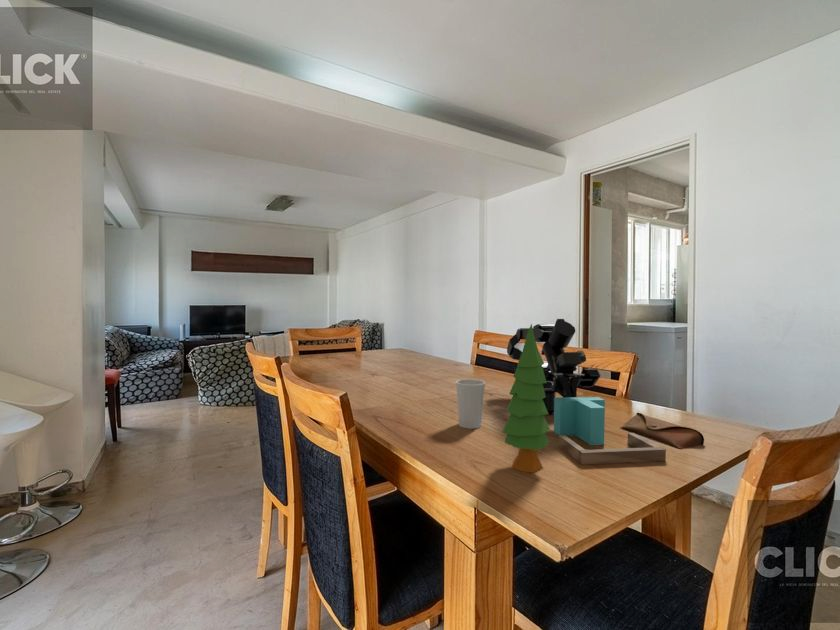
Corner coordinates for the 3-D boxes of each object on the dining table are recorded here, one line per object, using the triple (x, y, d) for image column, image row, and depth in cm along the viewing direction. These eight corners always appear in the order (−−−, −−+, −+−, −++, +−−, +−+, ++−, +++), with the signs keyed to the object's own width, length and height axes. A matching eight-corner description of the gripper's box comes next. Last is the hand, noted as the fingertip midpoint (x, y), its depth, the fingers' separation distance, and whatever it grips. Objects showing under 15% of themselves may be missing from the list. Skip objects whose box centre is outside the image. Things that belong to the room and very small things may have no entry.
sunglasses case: (615, 427, 108) (624, 405, 109) (630, 436, 110) (639, 415, 112) (682, 450, 91) (692, 423, 93) (698, 461, 94) (707, 435, 95)
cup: (451, 426, 108) (451, 383, 108) (462, 418, 115) (462, 378, 115) (479, 431, 104) (479, 386, 104) (488, 423, 111) (488, 380, 111)
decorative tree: (533, 480, 76) (536, 324, 75) (492, 465, 82) (493, 322, 81) (555, 464, 83) (557, 322, 82) (515, 452, 90) (517, 321, 88)
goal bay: (558, 445, 94) (558, 435, 94) (633, 443, 96) (633, 432, 96) (582, 464, 83) (582, 452, 83) (665, 460, 85) (665, 449, 85)
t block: (553, 431, 104) (554, 397, 104) (596, 429, 106) (597, 396, 105) (573, 445, 94) (574, 408, 94) (620, 444, 95) (621, 407, 95)
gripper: (533, 340, 109) (550, 389, 99) (597, 340, 111) (620, 387, 101) (523, 364, 117) (537, 411, 107) (582, 363, 119) (602, 409, 109)
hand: (574, 404), depth 106 cm, fingers closed
